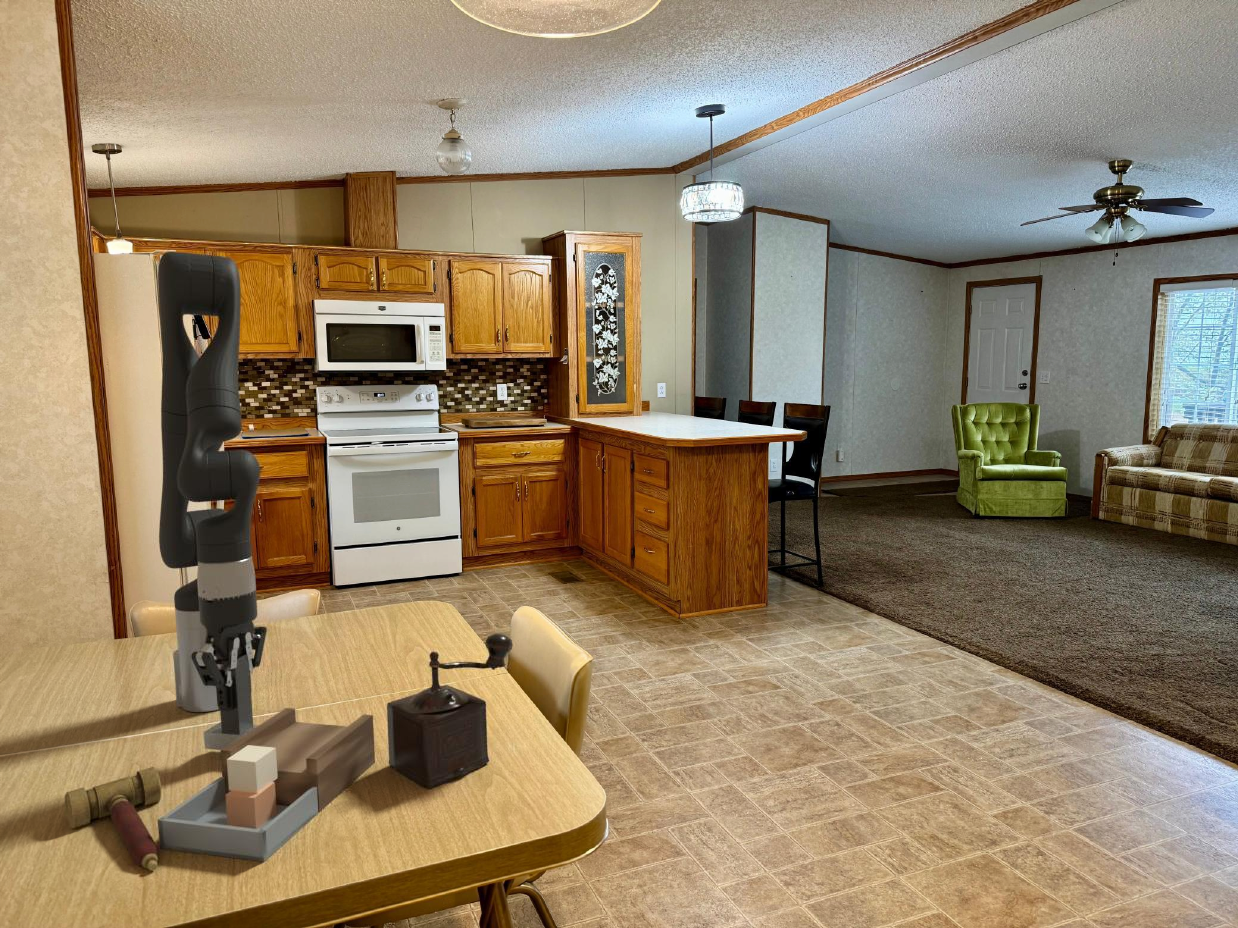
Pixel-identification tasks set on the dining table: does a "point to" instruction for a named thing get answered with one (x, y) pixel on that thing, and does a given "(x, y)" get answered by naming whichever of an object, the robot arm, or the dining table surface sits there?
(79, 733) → the dining table surface
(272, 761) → the off-white cube
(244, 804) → the terracotta cube
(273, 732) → the slot block
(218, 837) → the tray
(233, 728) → the grey upright post
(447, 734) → the antique coffee grinder
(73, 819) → the gavel
